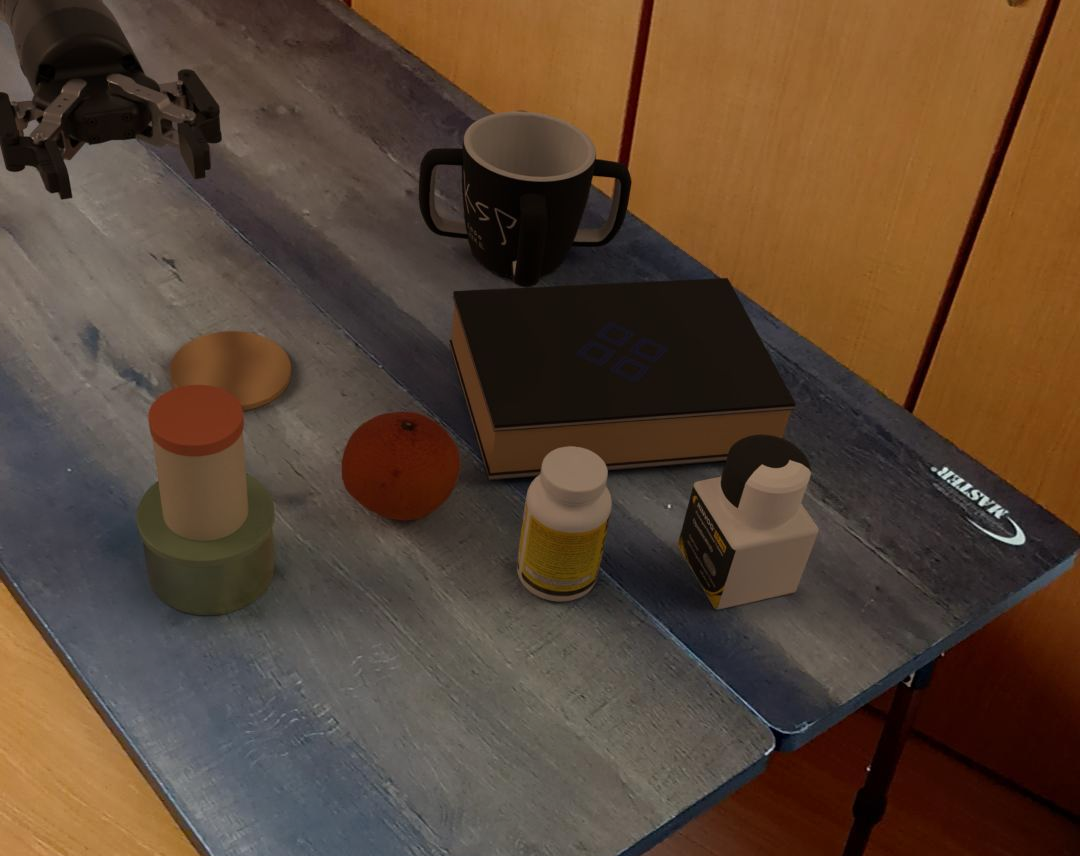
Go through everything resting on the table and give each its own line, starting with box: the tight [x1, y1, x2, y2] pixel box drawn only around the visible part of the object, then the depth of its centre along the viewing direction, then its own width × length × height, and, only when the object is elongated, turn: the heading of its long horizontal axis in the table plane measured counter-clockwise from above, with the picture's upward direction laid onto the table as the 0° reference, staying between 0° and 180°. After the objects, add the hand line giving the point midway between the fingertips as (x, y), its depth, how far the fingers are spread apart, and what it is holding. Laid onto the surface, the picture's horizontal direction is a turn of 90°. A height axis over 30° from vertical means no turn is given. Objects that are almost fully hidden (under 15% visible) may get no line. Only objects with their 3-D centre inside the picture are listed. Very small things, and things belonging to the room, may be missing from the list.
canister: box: [147, 385, 248, 541], centre depth 89 cm, size 6×6×9 cm
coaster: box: [169, 330, 292, 412], centre depth 112 cm, size 10×10×1 cm
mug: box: [418, 110, 633, 288], centre depth 124 cm, size 16×16×12 cm
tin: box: [135, 472, 276, 616], centre depth 94 cm, size 9×9×6 cm
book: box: [448, 277, 797, 481], centre depth 112 cm, size 17×25×7 cm
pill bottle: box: [516, 446, 613, 603], centre depth 96 cm, size 6×6×11 cm
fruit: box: [341, 411, 461, 521], centre depth 101 cm, size 9×9×8 cm
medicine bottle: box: [677, 435, 819, 611], centre depth 98 cm, size 7×7×12 cm
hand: (133, 176), depth 85 cm, fingers open, 8 cm apart
